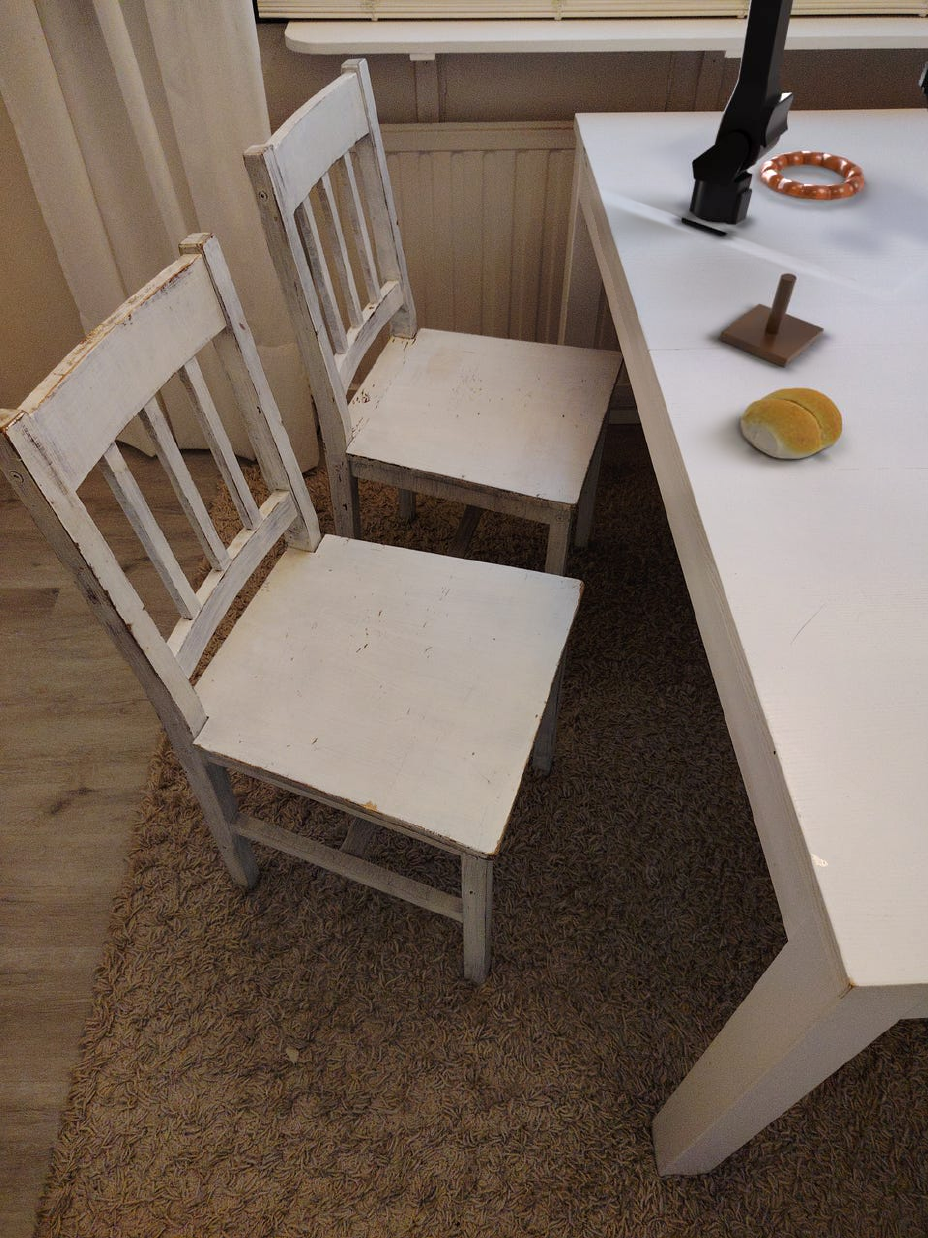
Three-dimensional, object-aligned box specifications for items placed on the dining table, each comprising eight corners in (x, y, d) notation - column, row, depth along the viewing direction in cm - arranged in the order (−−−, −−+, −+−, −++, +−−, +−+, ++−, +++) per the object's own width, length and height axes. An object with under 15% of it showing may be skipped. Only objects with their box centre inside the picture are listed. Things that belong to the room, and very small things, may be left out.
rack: (718, 339, 87) (734, 278, 82) (757, 311, 91) (774, 250, 86) (784, 367, 84) (804, 305, 78) (821, 336, 87) (843, 275, 82)
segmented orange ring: (739, 188, 112) (743, 170, 110) (789, 158, 118) (794, 140, 116) (830, 217, 105) (836, 198, 103) (878, 184, 111) (885, 166, 110)
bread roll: (852, 438, 76) (868, 403, 73) (787, 473, 73) (801, 438, 70) (787, 396, 80) (799, 361, 77) (723, 427, 77) (733, 392, 74)
